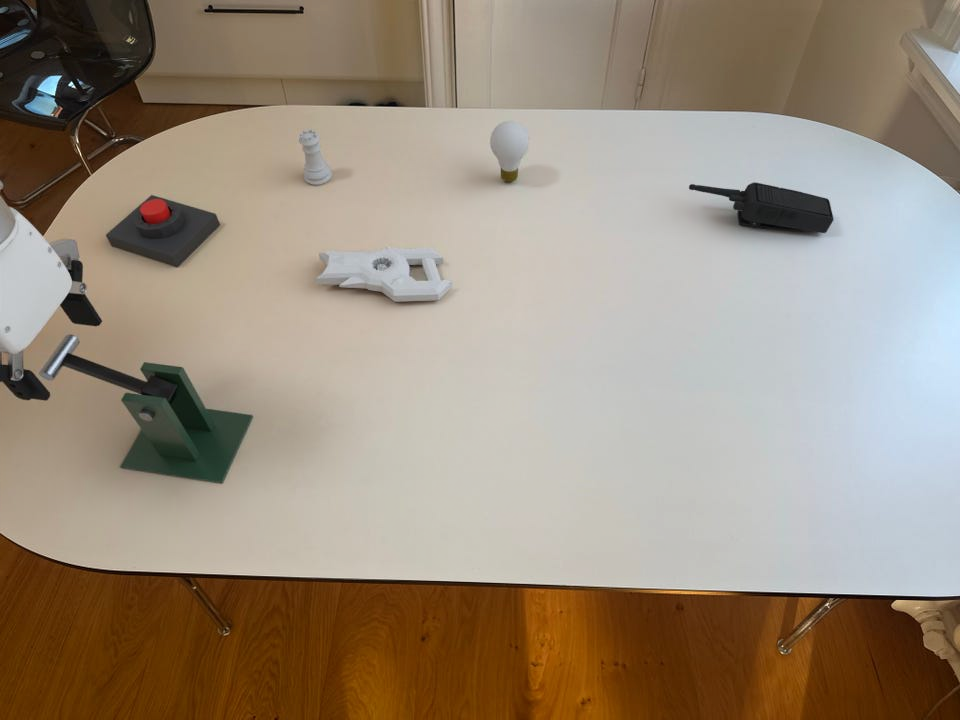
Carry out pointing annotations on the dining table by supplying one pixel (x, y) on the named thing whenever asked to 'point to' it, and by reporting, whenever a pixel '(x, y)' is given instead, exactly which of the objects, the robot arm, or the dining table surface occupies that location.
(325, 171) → the rook chess piece
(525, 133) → the light bulb
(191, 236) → the button box
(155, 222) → the stop button
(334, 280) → the gun
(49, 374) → the switch lever
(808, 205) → the walkie-talkie
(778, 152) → the dining table surface
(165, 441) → the bracket
